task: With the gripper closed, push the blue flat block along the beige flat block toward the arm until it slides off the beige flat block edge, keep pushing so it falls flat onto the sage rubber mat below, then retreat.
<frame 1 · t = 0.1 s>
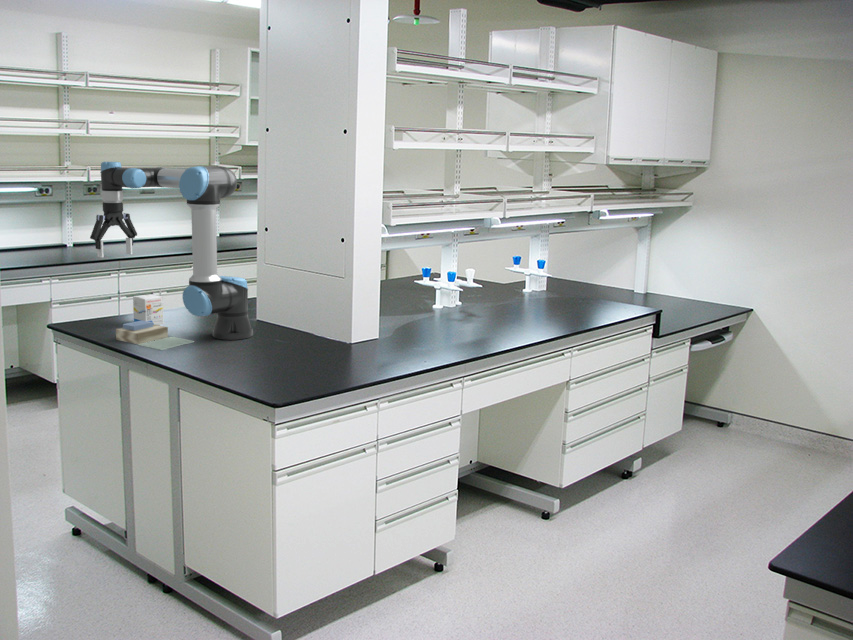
hand: (115, 255, 320), 28 cm above the countertop, fingers open, 13 cm apart
beige flat block: (142, 338, 305), on the countertop
mat: (166, 343, 298), on the countertop
blue flat block: (138, 327, 305), point 4 cm above the countertop, touching beige flat block
ink box: (148, 324, 328), on the countertop
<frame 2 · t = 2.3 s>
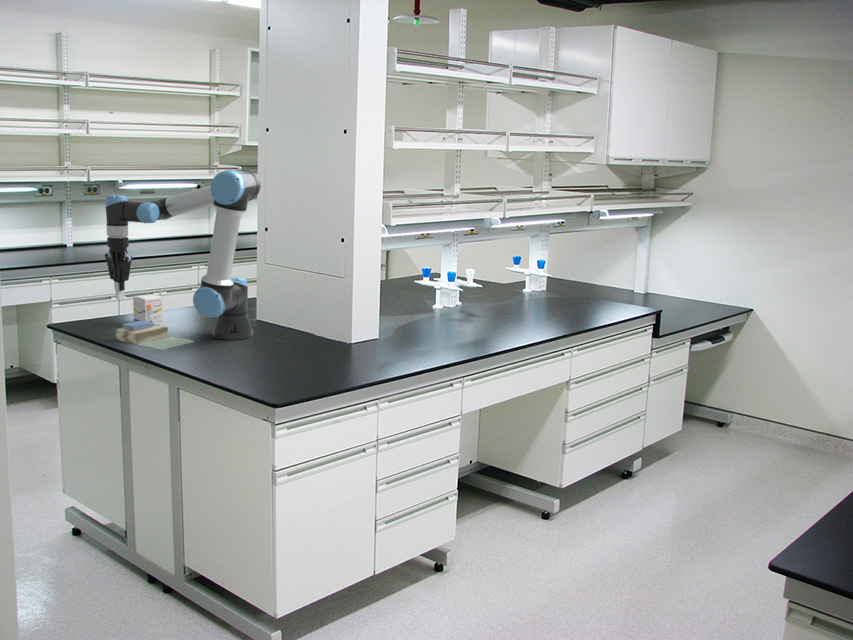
hand: (120, 298, 307), 14 cm above the countertop, fingers closed
nothing on the countertop moved.
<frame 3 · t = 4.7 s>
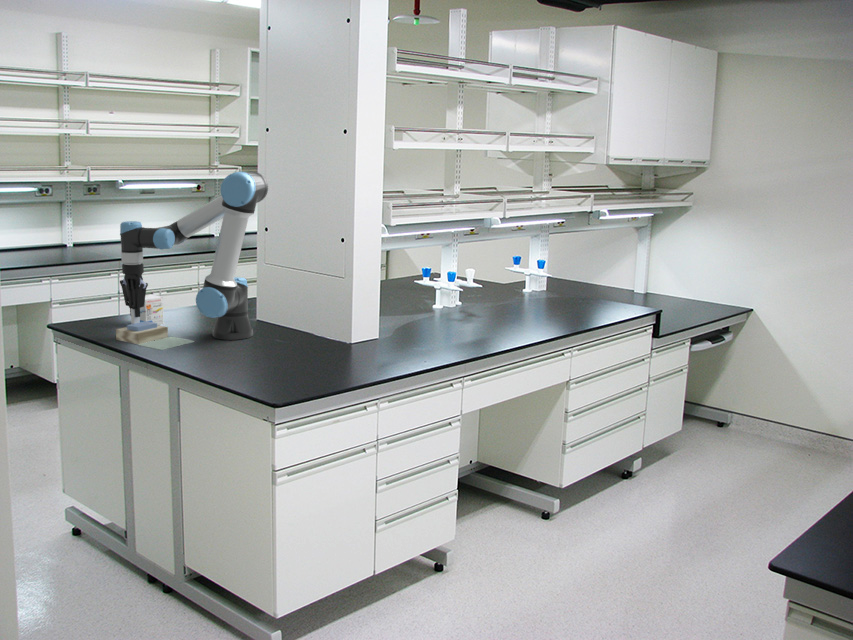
hand: (135, 325, 305), 5 cm above the countertop, fingers closed
blue flat block: (142, 328, 304), point 4 cm above the countertop, touching beige flat block
everything else where it was.
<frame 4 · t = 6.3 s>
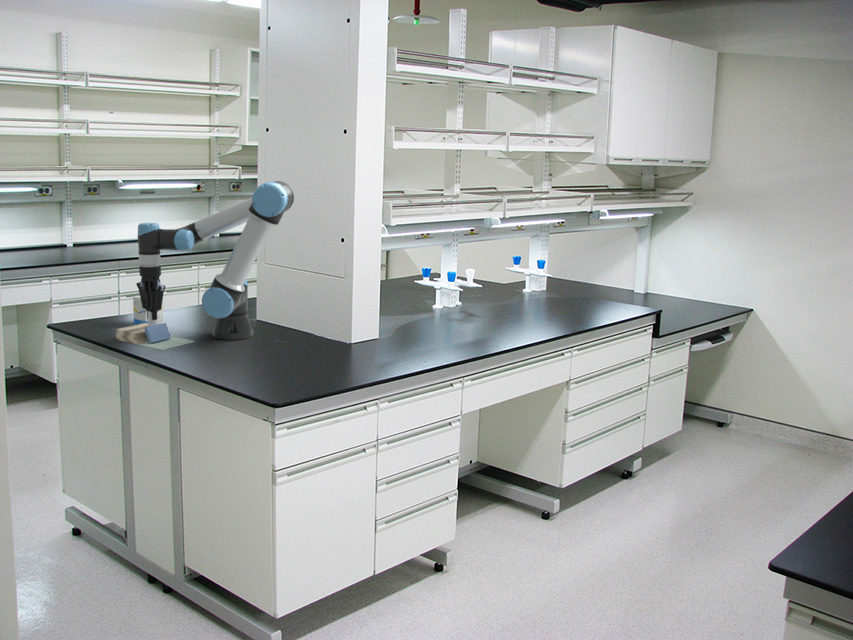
hand: (152, 328, 301), 5 cm above the countertop, fingers closed
blue flat block: (156, 333, 300), point 3 cm above the countertop, tilted 64°, touching mat
everything else where it was.
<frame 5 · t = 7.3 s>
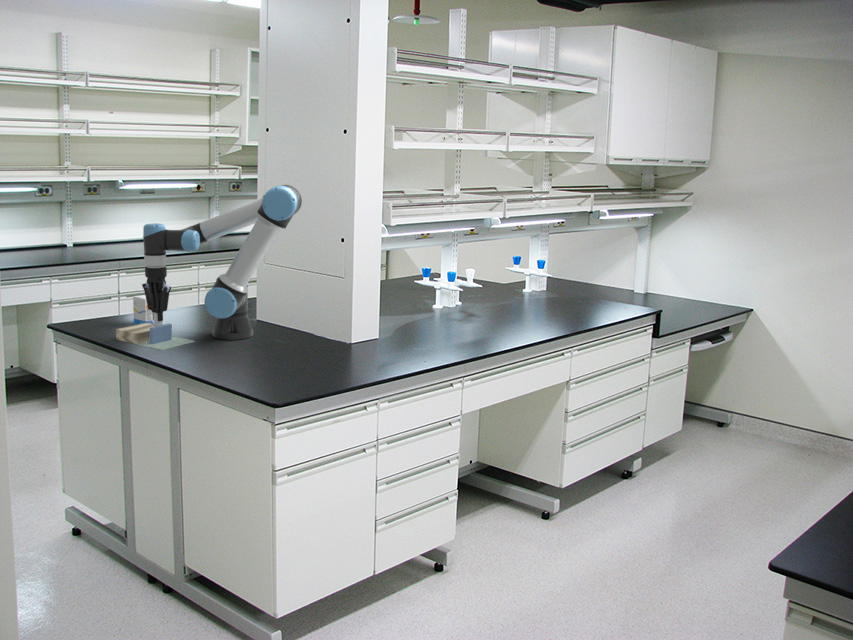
hand: (158, 329, 299), 5 cm above the countertop, fingers closed
blue flat block: (159, 333, 299), point 3 cm above the countertop, tilted 95°, touching mat
everything else where it was.
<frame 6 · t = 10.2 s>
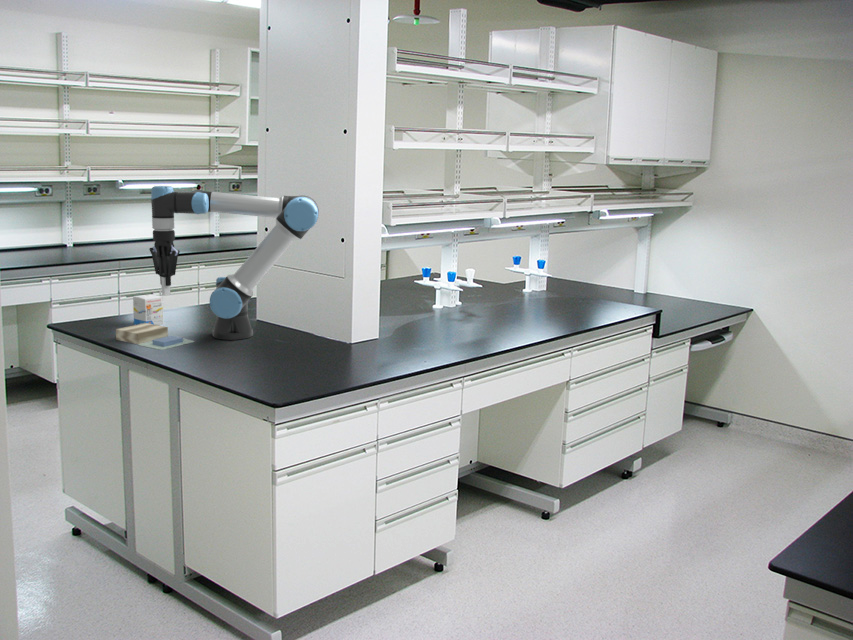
hand: (166, 294, 295), 18 cm above the countertop, fingers closed
blue flat block: (167, 339, 297), point 2 cm above the countertop, tilted 180°, touching mat
everything else where it was.
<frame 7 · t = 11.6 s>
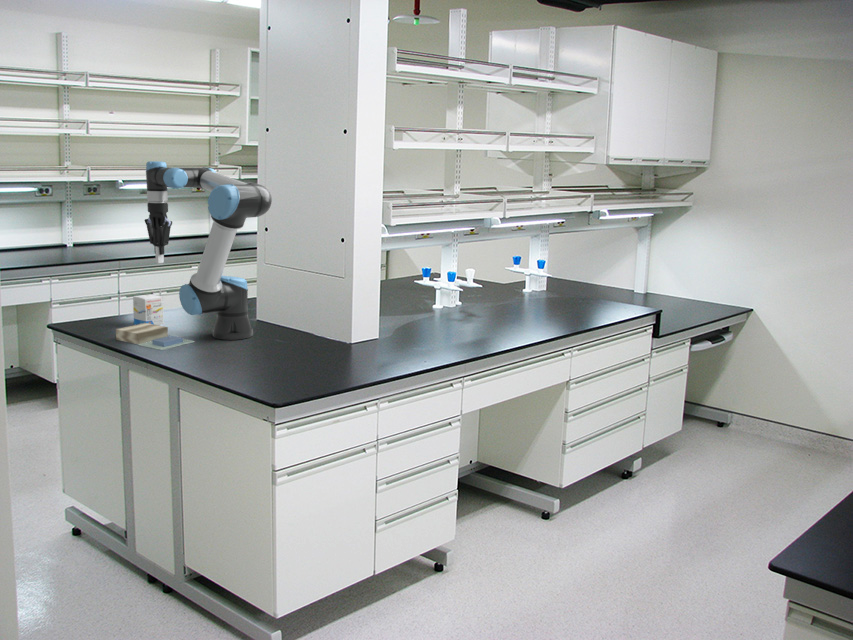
hand: (159, 262, 316), 26 cm above the countertop, fingers closed
nothing on the countertop moved.
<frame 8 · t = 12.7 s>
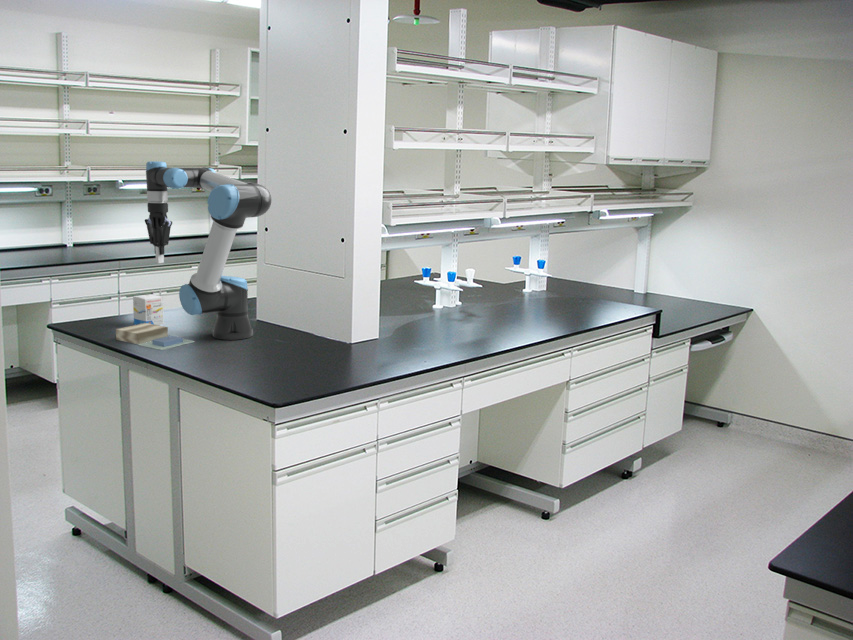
hand: (159, 262, 316), 26 cm above the countertop, fingers closed
nothing on the countertop moved.
at the end: blue flat block point 1.9 cm above the countertop; blue flat block inside the target area on the mat (0.8 cm from its centre), point 1.9 cm above the mat's base; blue flat block touching mat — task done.
